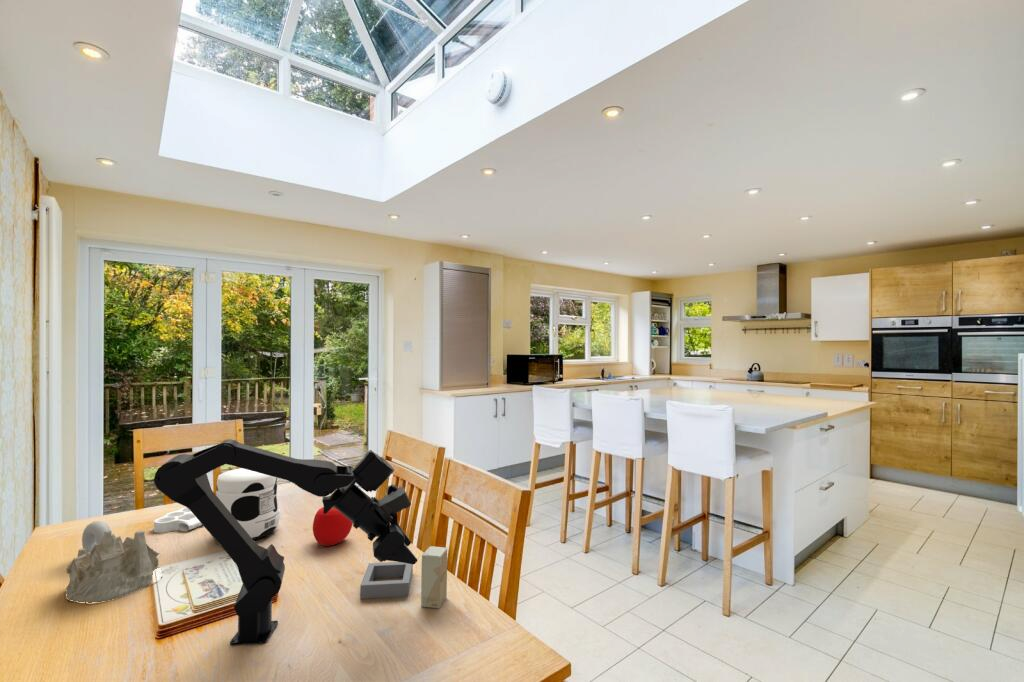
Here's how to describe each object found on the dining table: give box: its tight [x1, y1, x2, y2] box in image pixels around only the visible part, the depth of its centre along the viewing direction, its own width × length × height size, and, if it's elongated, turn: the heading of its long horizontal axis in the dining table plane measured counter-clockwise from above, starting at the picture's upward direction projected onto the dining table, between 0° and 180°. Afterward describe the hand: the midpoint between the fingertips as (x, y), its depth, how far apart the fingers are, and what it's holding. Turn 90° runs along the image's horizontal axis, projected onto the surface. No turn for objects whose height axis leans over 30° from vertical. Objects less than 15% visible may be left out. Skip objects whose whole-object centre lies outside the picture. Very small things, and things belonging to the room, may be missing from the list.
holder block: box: [359, 561, 414, 600], centre depth 110 cm, size 10×10×3 cm
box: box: [420, 545, 448, 609], centre depth 103 cm, size 5×4×11 cm
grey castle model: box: [65, 529, 161, 603], centre depth 109 cm, size 16×16×15 cm
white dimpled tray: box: [153, 507, 203, 534], centre depth 147 cm, size 3×18×15 cm
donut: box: [81, 520, 113, 554], centre depth 121 cm, size 10×4×10 cm, turn 66°
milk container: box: [215, 467, 281, 540], centre depth 138 cm, size 17×17×18 cm
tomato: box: [312, 506, 353, 547], centre depth 133 cm, size 10×11×11 cm
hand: (412, 552), depth 101 cm, fingers open, 9 cm apart
